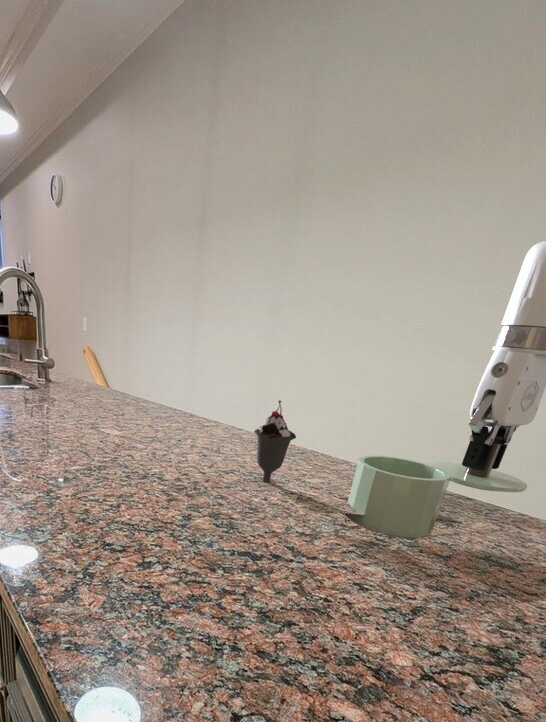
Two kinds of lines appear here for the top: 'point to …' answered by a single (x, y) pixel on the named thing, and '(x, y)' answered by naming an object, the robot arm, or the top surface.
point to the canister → (397, 495)
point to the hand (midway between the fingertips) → (479, 466)
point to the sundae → (272, 443)
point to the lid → (483, 475)
